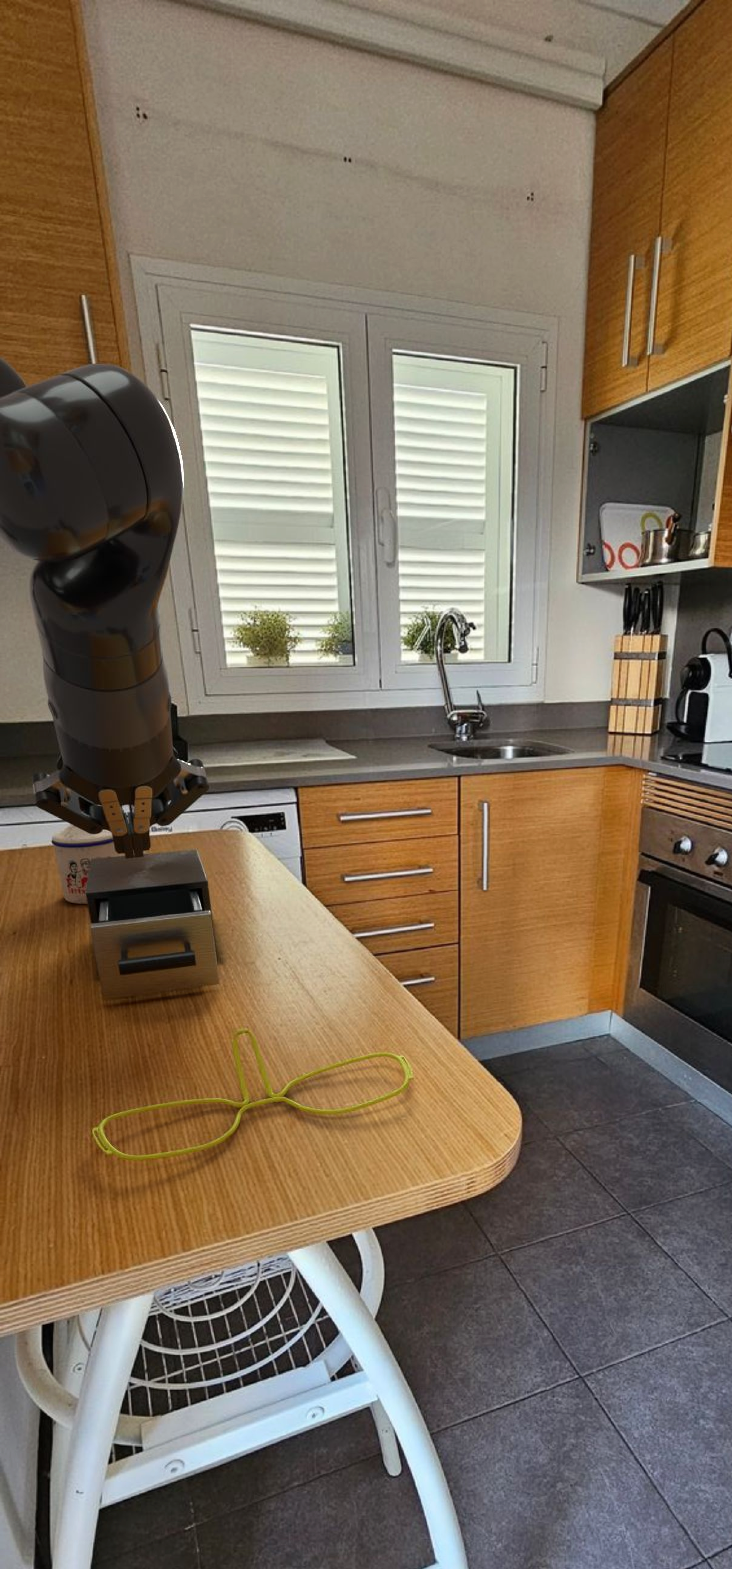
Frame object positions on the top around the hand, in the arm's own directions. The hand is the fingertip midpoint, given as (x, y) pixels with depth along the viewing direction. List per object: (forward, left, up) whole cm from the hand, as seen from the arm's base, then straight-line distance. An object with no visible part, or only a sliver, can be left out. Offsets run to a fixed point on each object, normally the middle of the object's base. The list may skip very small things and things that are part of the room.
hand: (132, 849), depth 71 cm
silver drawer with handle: (-7, +13, -17) cm, 23 cm away
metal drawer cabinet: (-13, +24, -18) cm, 32 cm away
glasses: (+14, -10, -18) cm, 25 cm away
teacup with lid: (-31, +43, -18) cm, 56 cm away
